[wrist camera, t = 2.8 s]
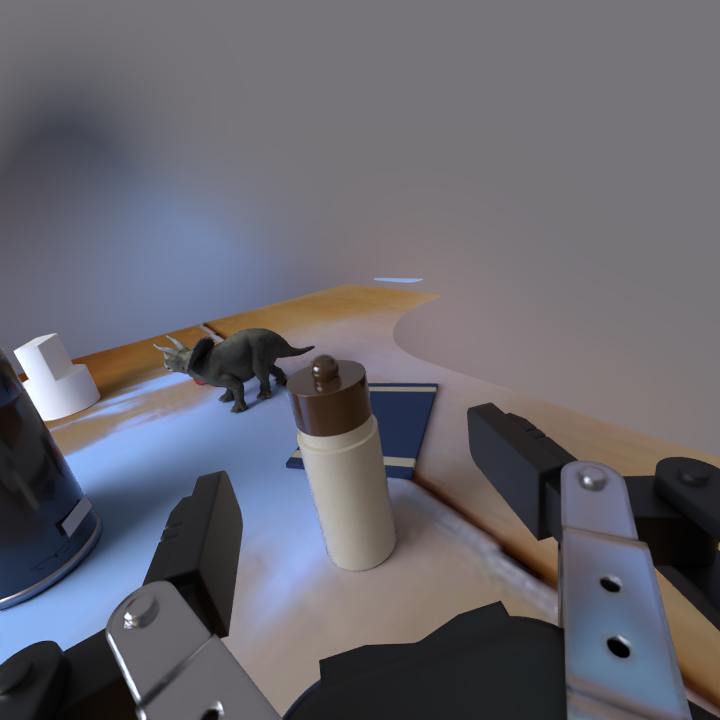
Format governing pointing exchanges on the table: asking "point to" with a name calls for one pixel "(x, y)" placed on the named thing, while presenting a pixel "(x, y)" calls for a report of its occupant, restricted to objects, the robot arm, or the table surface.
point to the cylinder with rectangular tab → (55, 378)
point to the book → (396, 424)
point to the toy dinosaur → (233, 362)
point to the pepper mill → (343, 461)
